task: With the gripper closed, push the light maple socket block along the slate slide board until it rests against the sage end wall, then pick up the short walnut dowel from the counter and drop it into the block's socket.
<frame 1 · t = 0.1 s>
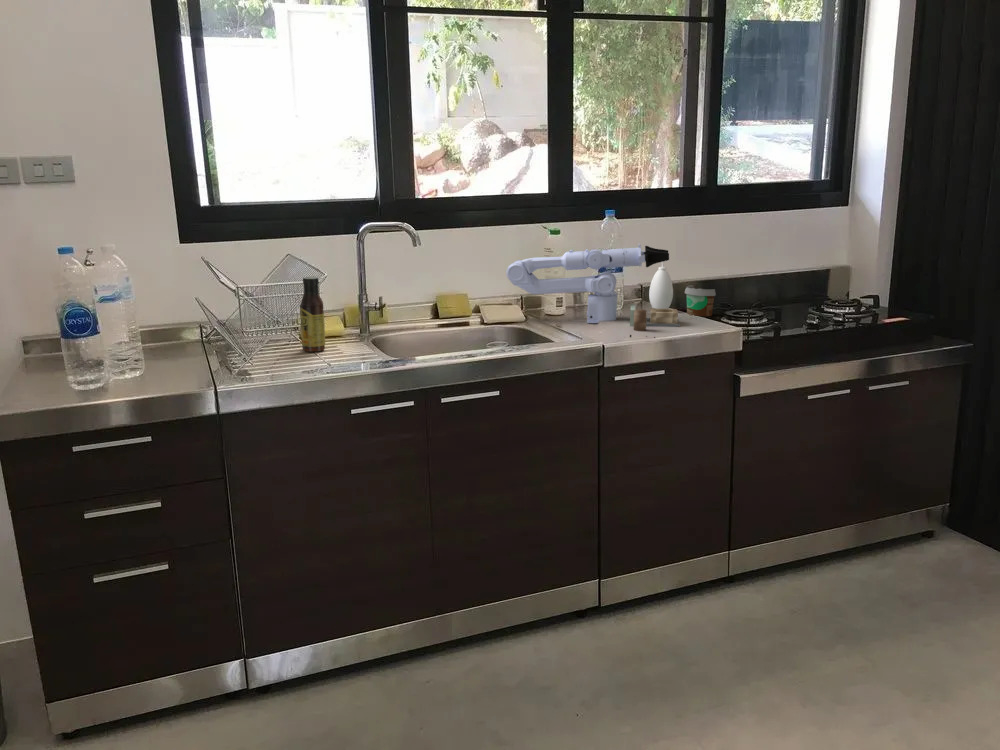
hand: (668, 255, 259), 22 cm above the counter, tool horizontal, fingers open, 7 cm apart
food container: (694, 318, 275), on the counter
walnut dowel: (639, 333, 248), on the counter
slide board: (654, 326, 259), on the counter
sauce bottle 2: (660, 312, 286), on the counter
sauce bottle: (314, 351, 225), on the counter
maple block: (663, 317, 258), point 3 cm above the counter, slide at 4.5 cm
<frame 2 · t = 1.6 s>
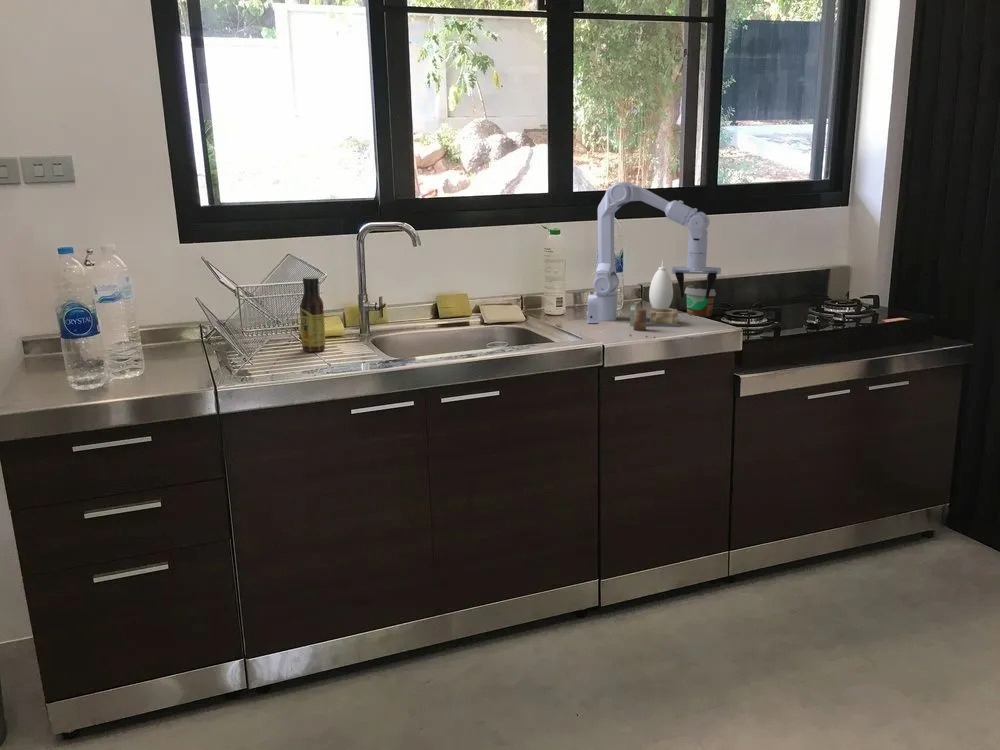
hand: (694, 297, 255), 9 cm above the counter, tool pointing down, fingers open, 7 cm apart
nothing on the counter moved.
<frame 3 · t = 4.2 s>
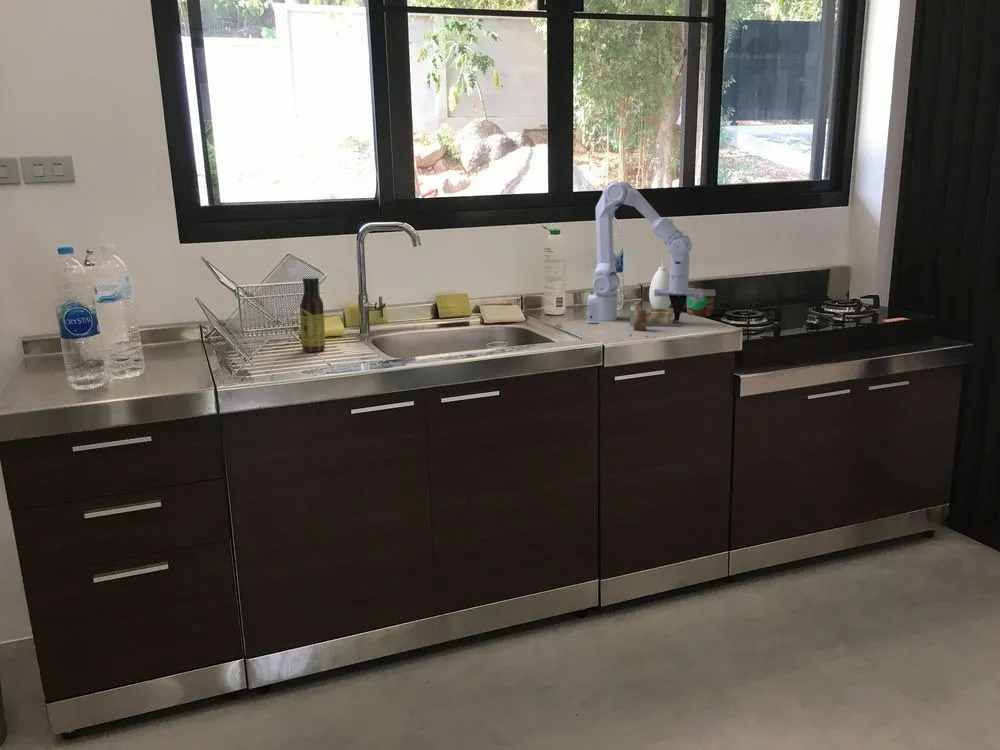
hand: (676, 319, 257), 2 cm above the counter, tool pointing down, fingers closed
maple block: (659, 317, 258), point 3 cm above the counter, slide at 3.1 cm, touching gripper
everything else where it was.
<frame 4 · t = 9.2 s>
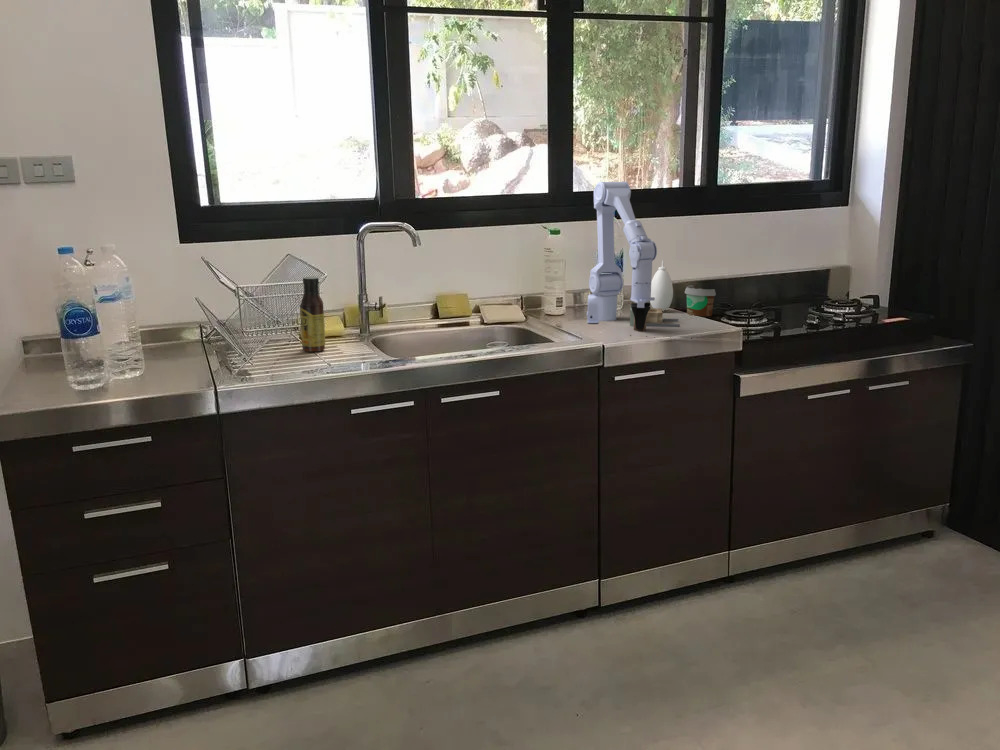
hand: (639, 328, 248), 2 cm above the counter, tool pointing down, fingers closed on walnut dowel, 4 cm apart
walnut dowel: (639, 333, 248), on the counter, touching gripper
maple block: (648, 316, 258), point 3 cm above the counter, slide at 0.0 cm
everything else where it was.
when the fingers open (5 cm above the counter, at t = 12.6 s): walnut dowel drops 2 cm, resting on maple block.
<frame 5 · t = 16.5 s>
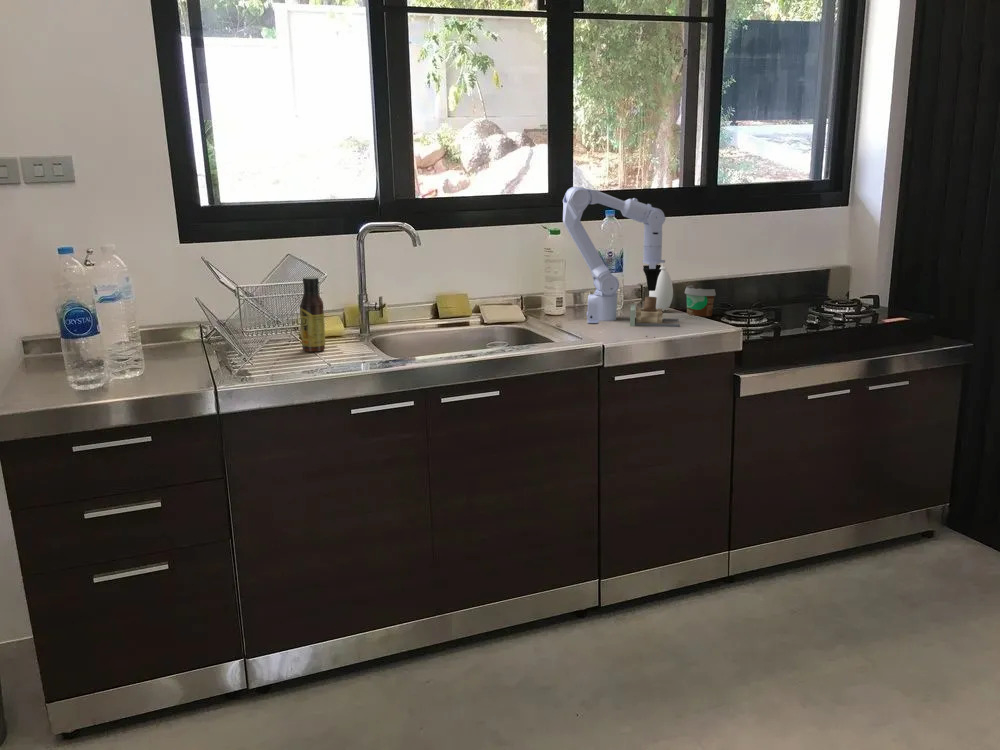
hand: (651, 289, 266), 10 cm above the counter, tool pointing down, fingers open, 7 cm apart
walnut dowel: (649, 319, 259), point 2 cm above the counter, touching maple block
maple block: (648, 316, 258), point 3 cm above the counter, slide at 0.0 cm, touching walnut dowel
everything else where it was.
at the end: maple block slide at 0.0 cm; walnut dowel 0.2 cm from the target spot, point 2.2 cm above the counter; walnut dowel tilted 2° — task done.
